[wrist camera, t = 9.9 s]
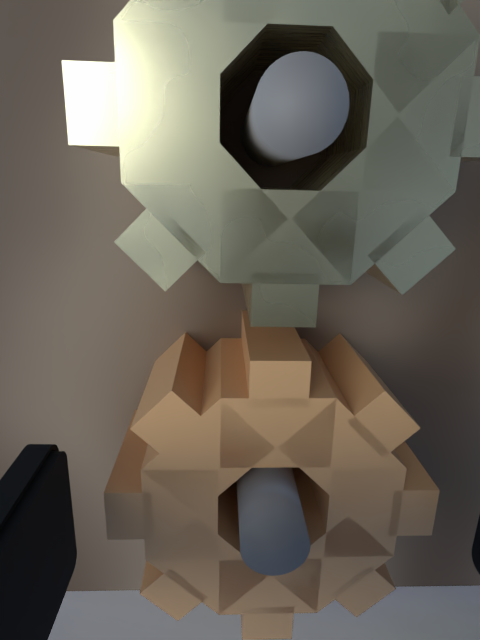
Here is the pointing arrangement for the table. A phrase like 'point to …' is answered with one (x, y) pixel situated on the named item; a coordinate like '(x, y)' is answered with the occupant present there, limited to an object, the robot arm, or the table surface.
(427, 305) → the gear board
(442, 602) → the table surface
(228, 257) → the green gear
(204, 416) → the tan gear
